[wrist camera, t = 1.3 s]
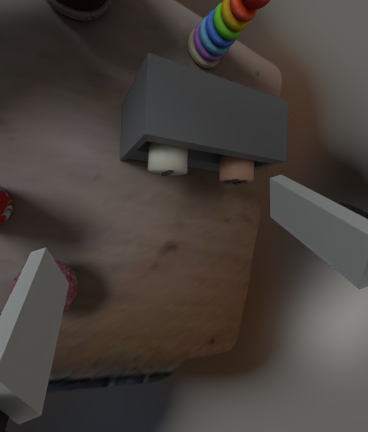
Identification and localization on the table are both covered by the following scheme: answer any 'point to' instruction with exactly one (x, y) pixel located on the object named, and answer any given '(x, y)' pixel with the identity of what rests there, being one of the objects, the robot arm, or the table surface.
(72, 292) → the cupcake
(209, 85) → the console
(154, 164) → the button one
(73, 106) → the table surface
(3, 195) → the soda can
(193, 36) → the stacking toy
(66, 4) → the flowerpot
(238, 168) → the button two
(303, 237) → the robot arm
